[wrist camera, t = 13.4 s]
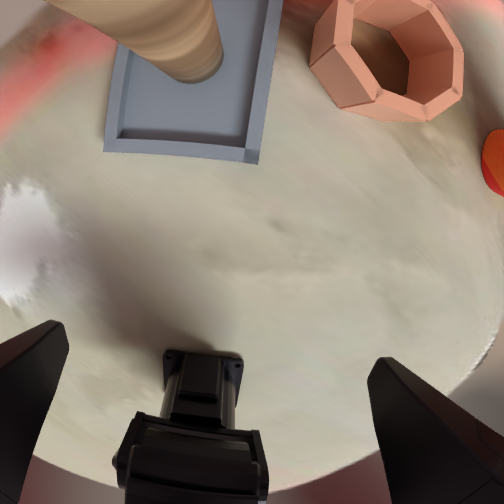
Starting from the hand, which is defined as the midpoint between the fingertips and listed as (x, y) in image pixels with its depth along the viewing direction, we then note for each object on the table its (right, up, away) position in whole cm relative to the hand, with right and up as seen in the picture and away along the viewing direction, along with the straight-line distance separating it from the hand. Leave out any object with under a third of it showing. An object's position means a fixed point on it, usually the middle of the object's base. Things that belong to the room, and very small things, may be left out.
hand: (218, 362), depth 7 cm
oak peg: (-2, +14, +6) cm, 15 cm away
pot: (+8, +15, +7) cm, 18 cm away
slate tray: (-2, +14, +7) cm, 16 cm away
